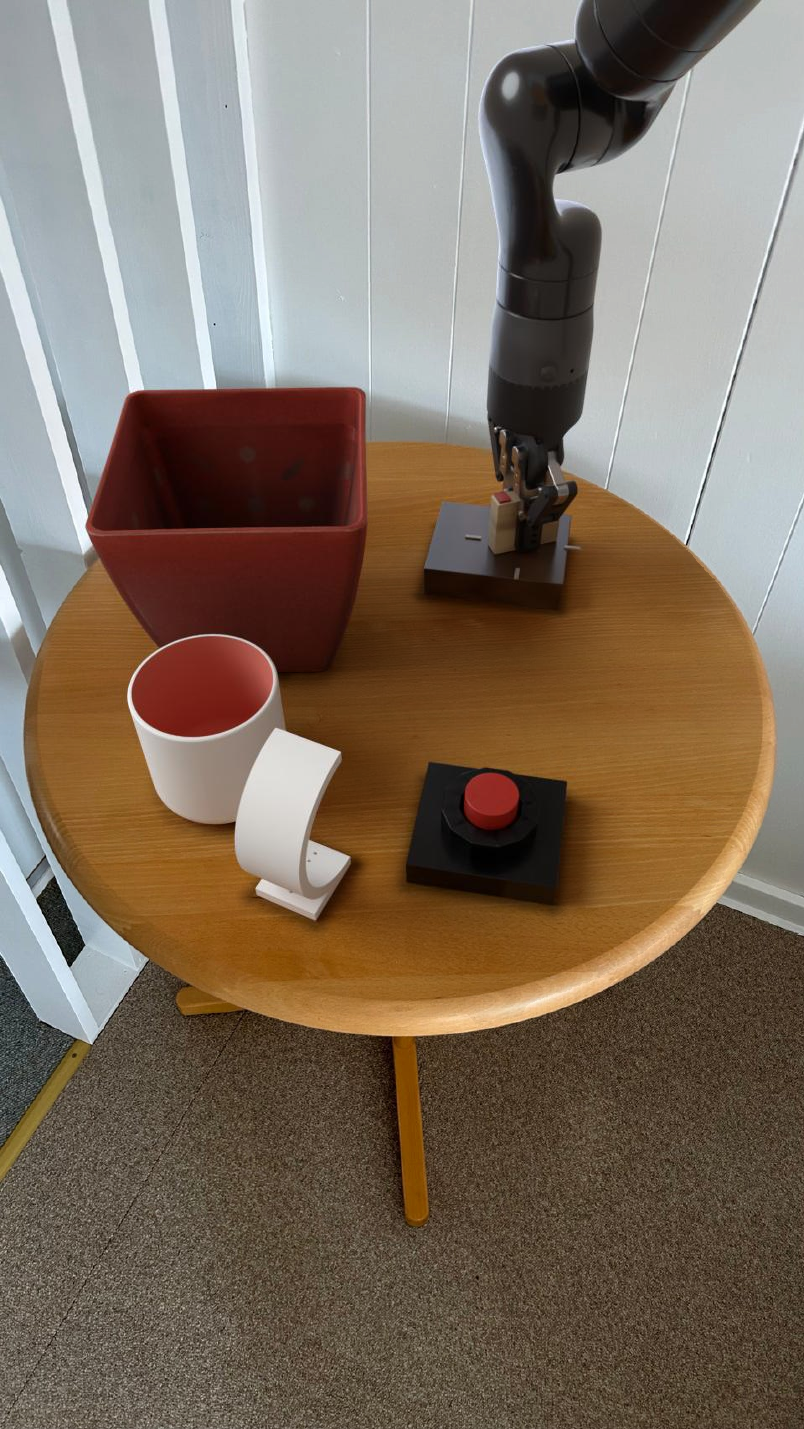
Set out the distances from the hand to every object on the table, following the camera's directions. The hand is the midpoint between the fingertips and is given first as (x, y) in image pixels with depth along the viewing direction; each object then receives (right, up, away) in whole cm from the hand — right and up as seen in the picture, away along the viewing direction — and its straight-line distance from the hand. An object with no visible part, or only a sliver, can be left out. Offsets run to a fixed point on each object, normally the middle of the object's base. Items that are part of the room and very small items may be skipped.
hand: (521, 540), depth 86 cm
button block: (-5, -24, -18) cm, 30 cm away
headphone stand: (-17, -27, -20) cm, 38 cm away
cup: (-24, -20, -13) cm, 34 cm away
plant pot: (-23, -8, -2) cm, 24 cm away
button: (-5, -22, -20) cm, 30 cm away
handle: (0, 0, 0) cm, 0 cm away
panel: (-2, -2, +3) cm, 4 cm away
